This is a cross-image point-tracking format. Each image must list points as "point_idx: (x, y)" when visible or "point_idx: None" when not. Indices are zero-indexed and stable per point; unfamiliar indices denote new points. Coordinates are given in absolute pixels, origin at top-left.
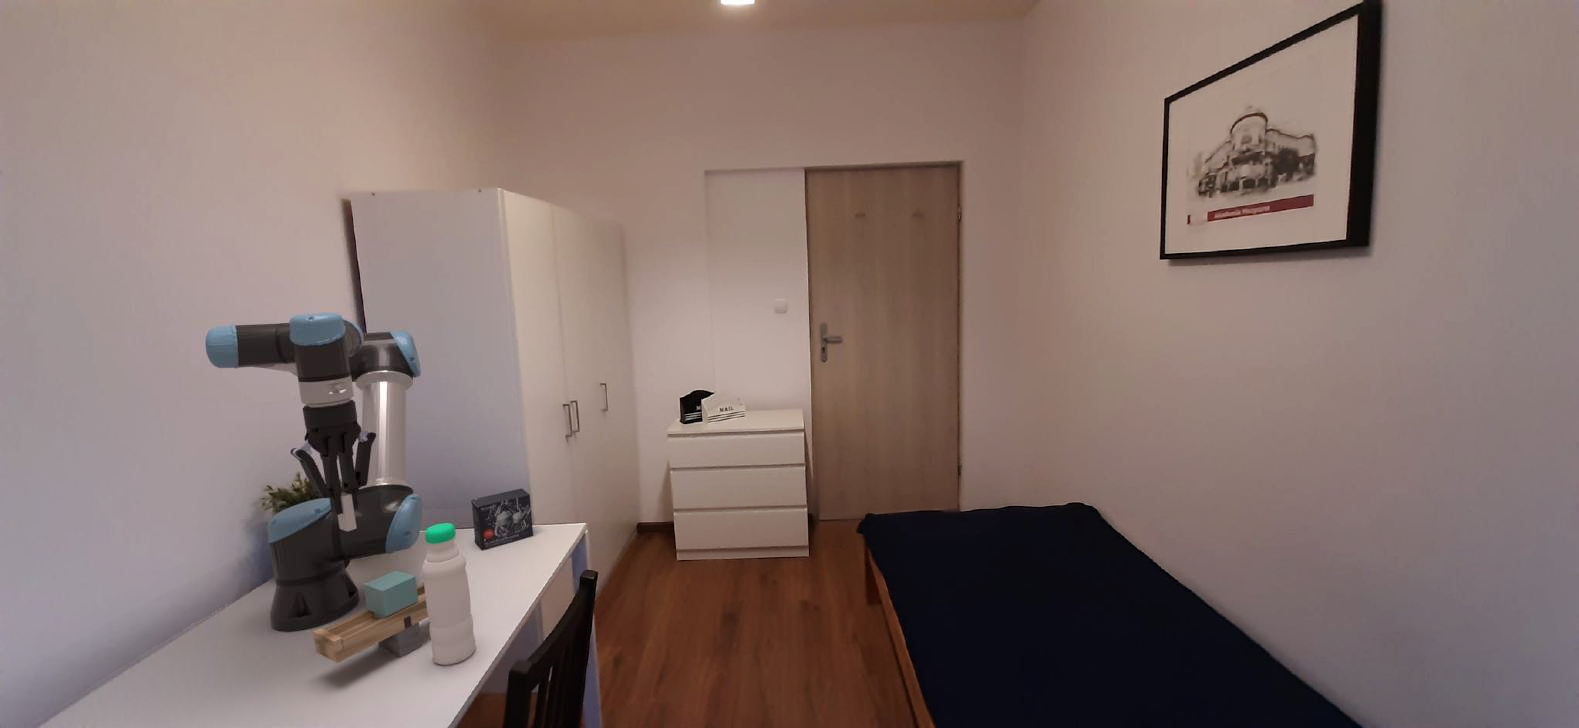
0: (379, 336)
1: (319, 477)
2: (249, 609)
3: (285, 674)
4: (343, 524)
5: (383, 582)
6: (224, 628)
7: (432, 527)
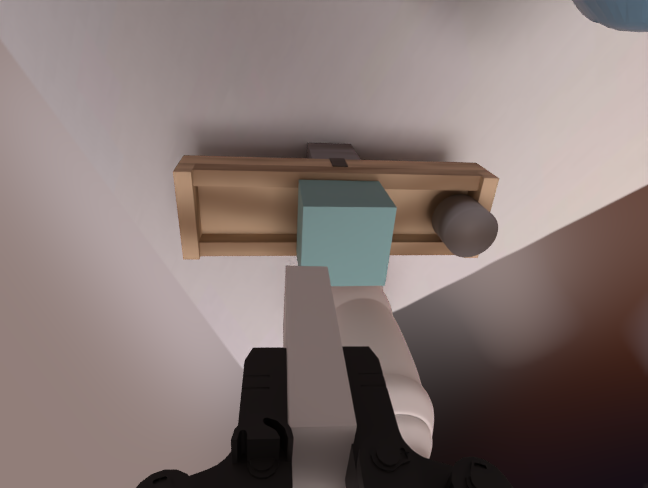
0: None
1: None
2: None
3: (159, 46)
4: (284, 321)
5: (332, 245)
6: None
7: None
